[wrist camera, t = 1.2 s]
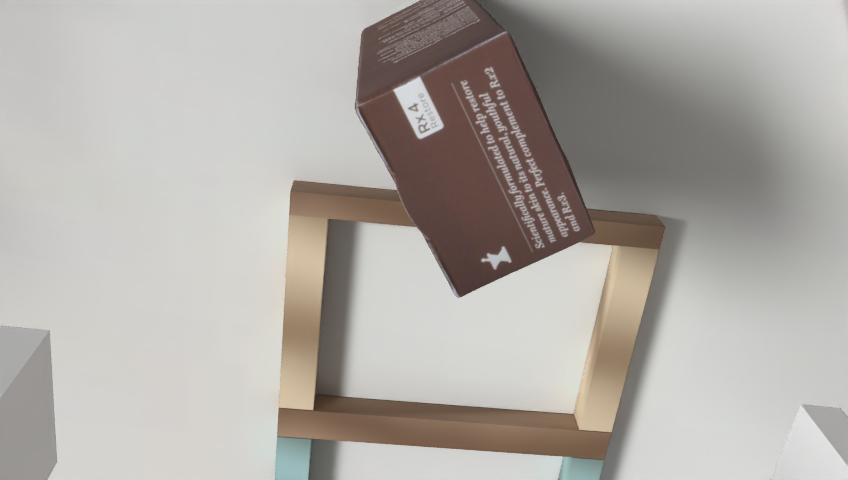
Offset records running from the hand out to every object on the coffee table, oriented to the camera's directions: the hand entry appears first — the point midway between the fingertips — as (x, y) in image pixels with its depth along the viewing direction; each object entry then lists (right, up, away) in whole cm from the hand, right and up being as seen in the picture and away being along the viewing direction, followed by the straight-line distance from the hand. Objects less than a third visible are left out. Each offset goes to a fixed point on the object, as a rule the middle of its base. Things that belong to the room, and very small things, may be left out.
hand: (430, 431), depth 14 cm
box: (+1, +10, +17) cm, 20 cm away
